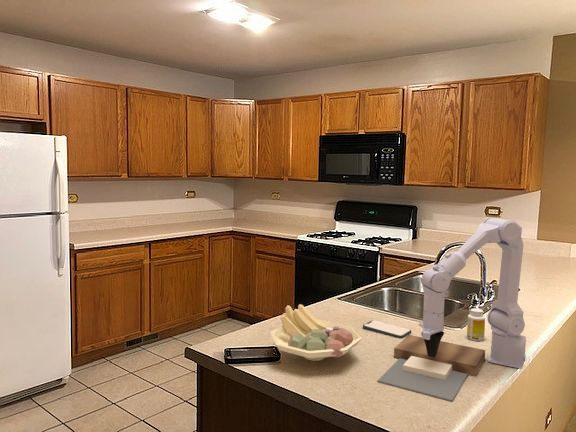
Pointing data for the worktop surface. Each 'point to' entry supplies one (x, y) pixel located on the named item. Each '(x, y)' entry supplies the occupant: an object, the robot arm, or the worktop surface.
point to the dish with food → (313, 335)
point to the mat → (424, 382)
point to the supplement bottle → (476, 325)
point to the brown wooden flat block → (443, 354)
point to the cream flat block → (427, 367)
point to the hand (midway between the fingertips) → (431, 355)
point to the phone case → (386, 329)
